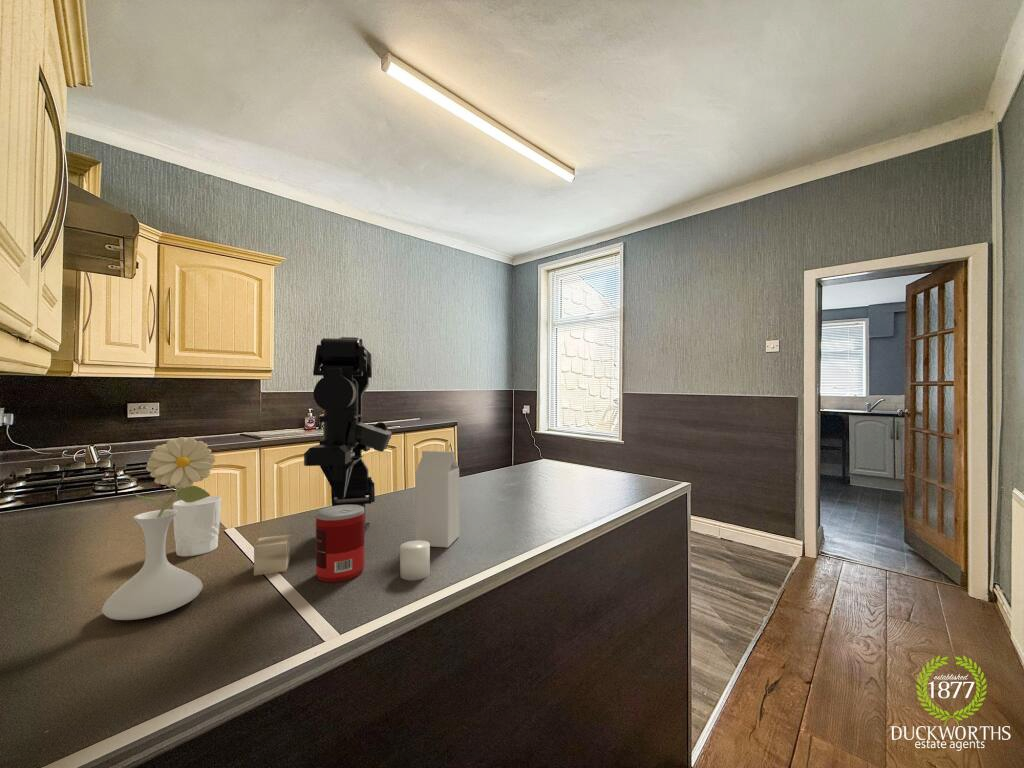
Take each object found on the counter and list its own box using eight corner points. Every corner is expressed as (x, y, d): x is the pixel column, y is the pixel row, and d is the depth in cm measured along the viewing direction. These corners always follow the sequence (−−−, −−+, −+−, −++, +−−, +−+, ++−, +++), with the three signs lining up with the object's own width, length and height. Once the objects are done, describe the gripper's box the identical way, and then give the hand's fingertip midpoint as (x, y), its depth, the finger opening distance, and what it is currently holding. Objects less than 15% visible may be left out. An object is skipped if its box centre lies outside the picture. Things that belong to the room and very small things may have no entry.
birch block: (259, 565, 79) (259, 537, 79) (289, 561, 81) (289, 534, 81) (253, 576, 74) (254, 547, 74) (286, 571, 76) (286, 543, 76)
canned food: (373, 567, 77) (373, 506, 78) (342, 586, 70) (342, 518, 70) (339, 561, 80) (339, 502, 80) (305, 579, 72) (305, 514, 73)
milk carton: (448, 548, 86) (448, 454, 87) (415, 546, 88) (415, 453, 88) (459, 536, 93) (459, 449, 94) (429, 534, 95) (428, 448, 95)
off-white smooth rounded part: (402, 569, 77) (402, 541, 77) (430, 567, 77) (430, 539, 77) (398, 581, 72) (398, 551, 72) (428, 579, 72) (428, 549, 72)
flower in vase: (84, 637, 56) (86, 444, 56) (122, 598, 66) (124, 436, 66) (205, 615, 61) (206, 439, 61) (222, 583, 71) (223, 432, 72)
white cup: (225, 550, 86) (225, 500, 87) (176, 561, 81) (176, 508, 81) (215, 540, 92) (215, 494, 92) (168, 551, 86) (169, 501, 86)
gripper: (377, 411, 67) (377, 511, 67) (396, 407, 86) (396, 485, 85) (302, 412, 66) (302, 514, 66) (338, 407, 84) (338, 487, 84)
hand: (340, 498), depth 75 cm, fingers closed
